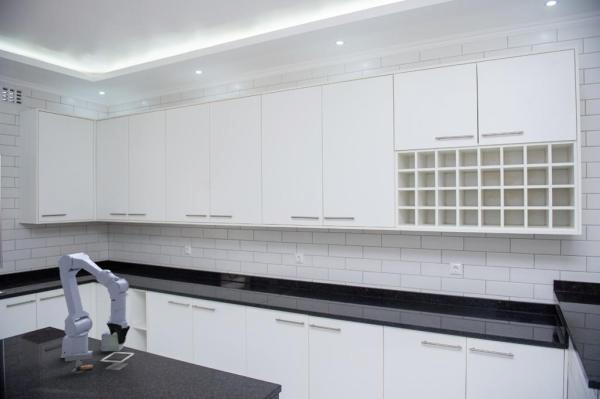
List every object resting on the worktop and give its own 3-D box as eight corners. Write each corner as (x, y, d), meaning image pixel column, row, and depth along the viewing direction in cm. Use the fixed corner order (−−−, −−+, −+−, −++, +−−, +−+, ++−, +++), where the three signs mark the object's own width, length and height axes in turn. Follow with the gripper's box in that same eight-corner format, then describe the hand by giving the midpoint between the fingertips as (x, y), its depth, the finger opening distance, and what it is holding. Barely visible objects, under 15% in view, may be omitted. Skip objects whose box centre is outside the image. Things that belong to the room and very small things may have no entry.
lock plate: (57, 376, 147) (58, 372, 147) (81, 363, 159) (81, 359, 159) (110, 380, 144) (110, 377, 144) (130, 366, 156) (130, 363, 156)
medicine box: (123, 350, 174) (123, 330, 174) (119, 353, 169) (119, 334, 169) (105, 350, 173) (106, 330, 174) (101, 354, 169) (101, 334, 169)
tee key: (64, 372, 147) (65, 356, 147) (66, 370, 149) (66, 354, 149) (91, 368, 150) (91, 353, 150) (92, 366, 152) (92, 352, 152)
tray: (100, 364, 158) (100, 360, 158) (114, 355, 168) (114, 351, 168) (121, 365, 157) (121, 362, 157) (134, 356, 166) (134, 353, 166)
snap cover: (109, 345, 159) (109, 336, 159) (113, 341, 164) (113, 332, 164) (122, 345, 160) (122, 335, 160) (126, 341, 165) (126, 331, 165)
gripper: (102, 307, 165) (101, 339, 165) (114, 314, 154) (114, 348, 154) (119, 304, 170) (118, 335, 170) (132, 310, 159) (132, 343, 159)
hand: (118, 341), depth 162 cm, fingers closed on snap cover, 7 cm apart
